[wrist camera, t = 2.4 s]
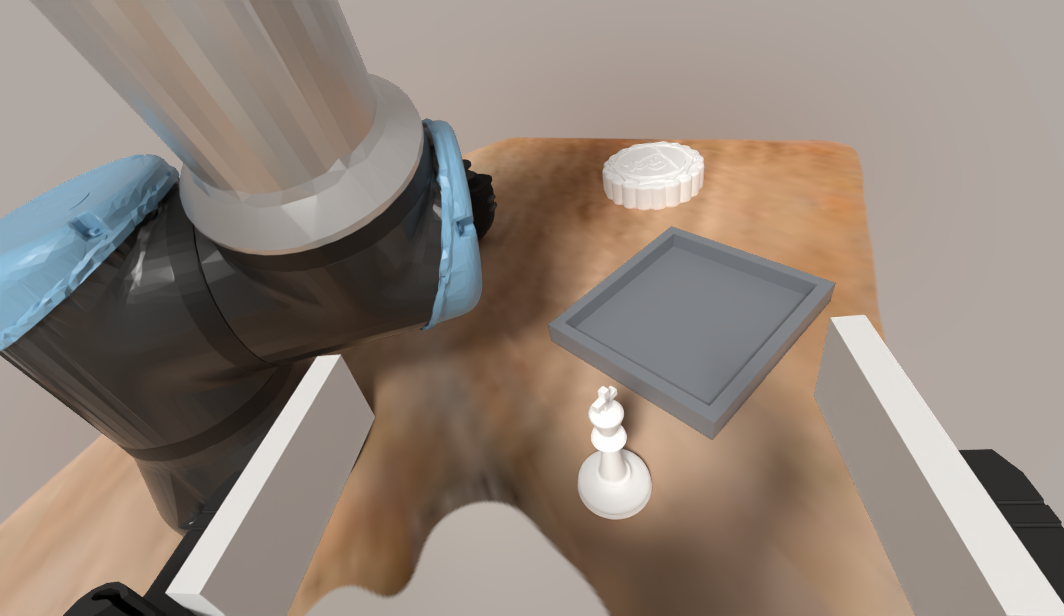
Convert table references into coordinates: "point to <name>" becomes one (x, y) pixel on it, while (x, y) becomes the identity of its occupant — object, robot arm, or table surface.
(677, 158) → the mooncake
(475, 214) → the controller
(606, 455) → the chess piece
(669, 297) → the tray
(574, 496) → the table surface
